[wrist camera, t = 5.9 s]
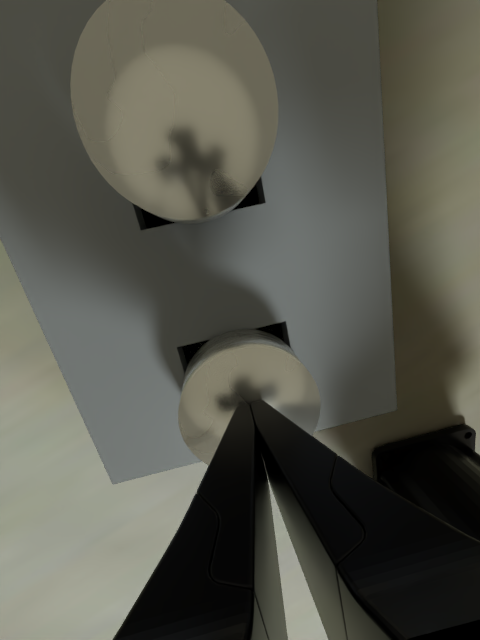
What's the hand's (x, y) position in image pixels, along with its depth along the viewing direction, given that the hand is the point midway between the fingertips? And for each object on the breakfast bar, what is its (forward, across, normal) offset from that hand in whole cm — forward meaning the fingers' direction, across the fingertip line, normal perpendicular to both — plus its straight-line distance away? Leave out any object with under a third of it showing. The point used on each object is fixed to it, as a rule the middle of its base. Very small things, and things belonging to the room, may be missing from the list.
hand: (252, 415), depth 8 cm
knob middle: (+5, 0, -8) cm, 9 cm away
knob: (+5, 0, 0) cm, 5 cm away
